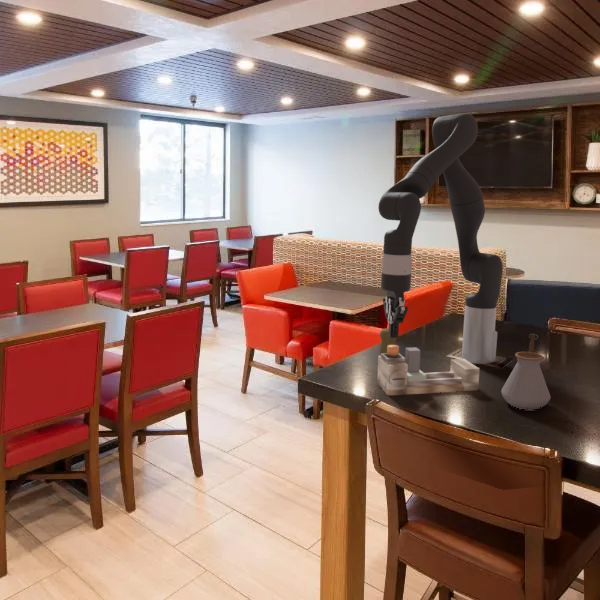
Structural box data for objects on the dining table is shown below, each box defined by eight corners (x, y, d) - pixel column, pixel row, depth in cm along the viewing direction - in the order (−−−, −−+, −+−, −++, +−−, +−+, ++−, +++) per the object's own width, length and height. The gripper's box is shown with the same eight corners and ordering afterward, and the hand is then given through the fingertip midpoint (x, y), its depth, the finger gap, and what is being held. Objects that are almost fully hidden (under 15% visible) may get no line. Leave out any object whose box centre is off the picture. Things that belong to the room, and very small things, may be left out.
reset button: (396, 351, 159) (396, 344, 158) (400, 355, 156) (400, 347, 155) (385, 352, 158) (385, 345, 158) (389, 355, 155) (389, 348, 155)
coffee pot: (548, 416, 141) (554, 355, 138) (497, 408, 146) (502, 349, 143) (551, 389, 160) (557, 334, 157) (507, 382, 165) (511, 330, 162)
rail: (462, 379, 167) (465, 347, 165) (478, 391, 158) (481, 357, 156) (377, 384, 163) (378, 351, 161) (388, 396, 153) (390, 361, 152)
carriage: (415, 371, 163) (416, 344, 162) (426, 380, 156) (427, 353, 154) (397, 372, 163) (398, 345, 161) (408, 381, 155) (409, 353, 153)
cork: (397, 368, 177) (398, 332, 174) (376, 366, 178) (377, 330, 176) (398, 362, 182) (399, 327, 180) (378, 360, 184) (379, 326, 181)
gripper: (420, 275, 147) (416, 343, 150) (401, 267, 160) (398, 330, 163) (390, 275, 146) (387, 344, 149) (374, 268, 158) (371, 331, 162)
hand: (393, 337), depth 156 cm, fingers closed
